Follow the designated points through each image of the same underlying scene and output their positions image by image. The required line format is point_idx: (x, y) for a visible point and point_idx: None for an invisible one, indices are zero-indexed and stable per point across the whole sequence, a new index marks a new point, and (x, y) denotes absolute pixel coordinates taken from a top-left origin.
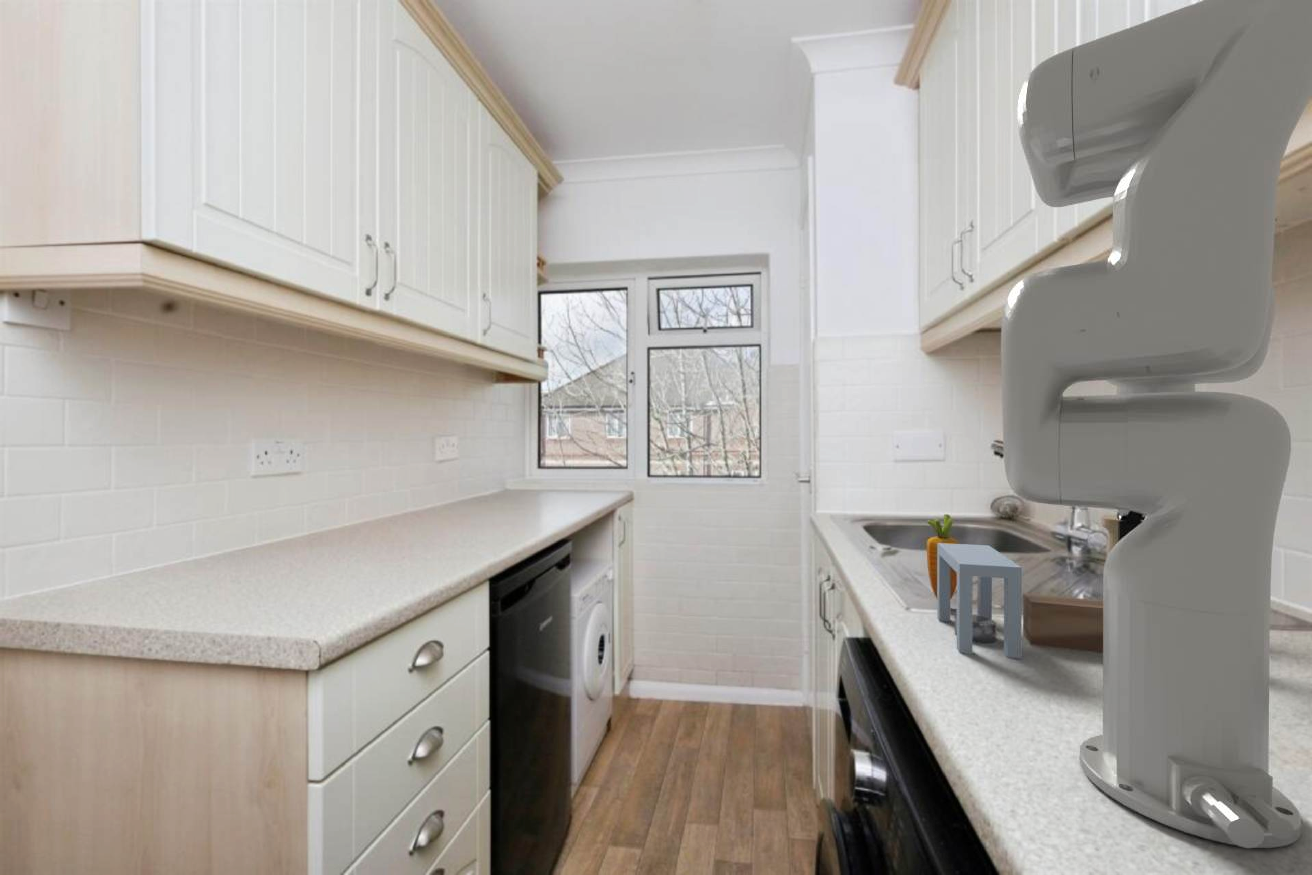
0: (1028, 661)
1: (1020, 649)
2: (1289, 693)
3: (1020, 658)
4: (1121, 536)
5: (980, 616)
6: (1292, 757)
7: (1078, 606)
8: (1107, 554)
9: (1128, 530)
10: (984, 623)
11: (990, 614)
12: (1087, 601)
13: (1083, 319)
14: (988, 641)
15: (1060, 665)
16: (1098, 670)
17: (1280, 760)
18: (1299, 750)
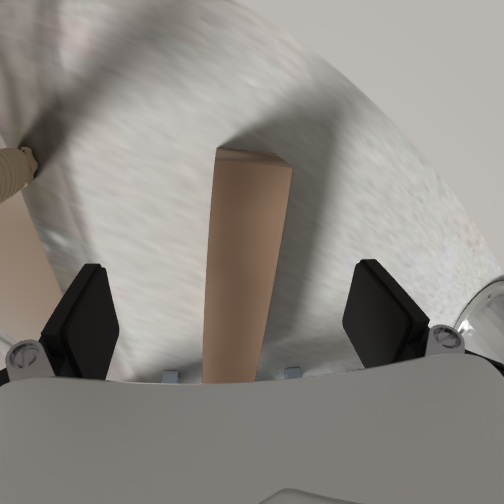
0: (306, 362)
1: (301, 375)
2: (367, 110)
3: (299, 368)
4: (108, 363)
5: None
6: (475, 232)
7: (259, 353)
8: None
9: (98, 366)
10: None
11: (176, 383)
12: (222, 333)
13: None
14: None
15: (314, 339)
16: (325, 307)
17: (476, 244)
18: (469, 218)
